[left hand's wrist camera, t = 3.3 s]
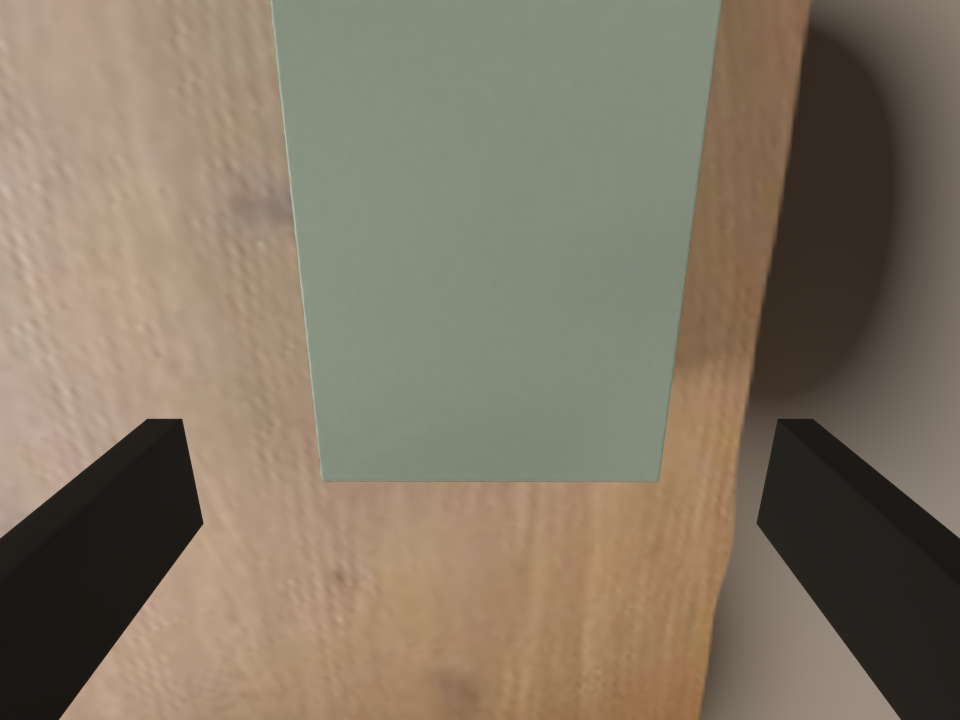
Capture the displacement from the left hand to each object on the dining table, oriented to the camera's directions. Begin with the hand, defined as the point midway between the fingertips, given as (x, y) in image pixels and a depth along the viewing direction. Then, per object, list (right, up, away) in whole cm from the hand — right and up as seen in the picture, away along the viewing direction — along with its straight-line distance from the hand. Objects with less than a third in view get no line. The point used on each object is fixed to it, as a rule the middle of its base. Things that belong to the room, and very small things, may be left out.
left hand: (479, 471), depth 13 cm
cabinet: (0, +10, +10) cm, 15 cm away
